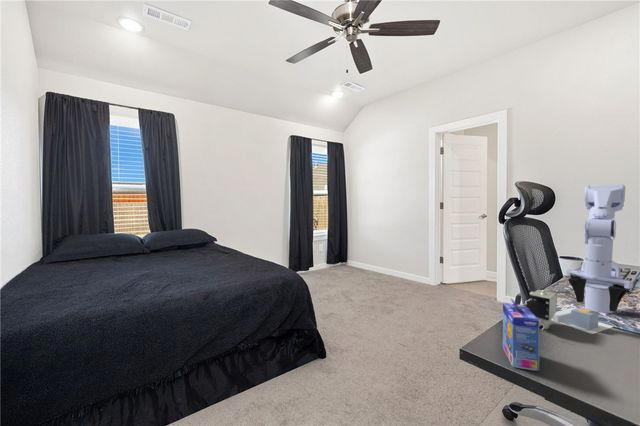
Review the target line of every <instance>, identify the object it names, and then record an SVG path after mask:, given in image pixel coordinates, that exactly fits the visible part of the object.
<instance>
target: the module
mask: <svg viewBox="0 0 640 426" xmlns="http://www.w3.org/2000/svg"><path fill="white" fill-rule="evenodd" d="M575 308H576V309H573V310H571V325H574V326H577V327H580V328H583V329H586V330H592V329H595V328H598V322H599V318H600V316H599V315H600V314H599V313H600V312H596V311H592V310H589V309H587V308H585V307H584V308H583V307H578V308H577V307H575Z"/></svg>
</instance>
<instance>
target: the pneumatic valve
mask: <svg viewBox="0 0 640 426" xmlns="http://www.w3.org/2000/svg"><path fill="white" fill-rule="evenodd" d="M557 296H558V292H554V291H549V290H546V289H539V288H538V289H537V290H535V291H533V290H531V292H529V299H528V300H527V301H526V307H527V308H528V309H529V310H530V312H532V313H533V314H534V315H535V316H536V317H537V318H538V319H539V328H541V329H540V331H542V330H544V329H545V330H548V329H549V328H550V326H551V322H552V320H551V319H552V318H553V315H554V314H555V313H556V312H557V302H558V297H557Z"/></svg>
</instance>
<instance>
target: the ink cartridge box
mask: <svg viewBox="0 0 640 426" xmlns="http://www.w3.org/2000/svg"><path fill="white" fill-rule="evenodd" d="M510 300H511V302H512V303H507V302H506V303H505V302H504V303H502V348H503V351H504V353H505V356H506V357H507V359H508V361H509V363H510V364H511V366H512V368H517V369H523V370H529V371H534V372H539V371H540V327H539V319H538V318H537V317H536V316H535V315H534V314H533V313H532V312H530V310H529V309H528V308H527V305H525V304H517V303H516V301H514V299H513V298H510Z"/></svg>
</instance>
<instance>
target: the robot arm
mask: <svg viewBox="0 0 640 426" xmlns="http://www.w3.org/2000/svg"><path fill="white" fill-rule="evenodd" d="M625 198H626V185H624V184H621V185H620V184H619V185H618V184H611V185H610V184H609V185H608V184H605V185H603V184H602V185H591V184H589V185H586V186H585V188H584V203H585V207H586V209H587V210H588V217H587V220H584V224H583V225H584V226H583V227H584V228H583V234H584V244H585V248H584V249H585V253H584V261H583V262H581V263H582V264H581V268H580V269H581V270H577V269H566V272H565V273H566V275H565V276H567V277H569V278H568V279H567V280H568V282H569V284H570V286H571V287H572V289H573V293H574V296H575V299H576V302H577V303H582V302H584V309H588V310H591V311H595V312H598V313H602V314H613V313H614V312H621V311H619V310H618V309H619V304H620V302H621V301H622V299H623V298H624V296H625V295H626V294H627V293H628V291H630V290H632V289H634V281H633V280H629V279H624V278H621V275H622V272H621V266H620V264H618V263H617V262H615V261H614V260H613V250H614V249H613V248H614V240H615V238H616V233H617V232H616V231H617V222H616V218H615V215H616V214H615V213H616V212H620V211H622V210H623V208H624V207H625ZM612 238H613V239H612Z"/></svg>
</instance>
